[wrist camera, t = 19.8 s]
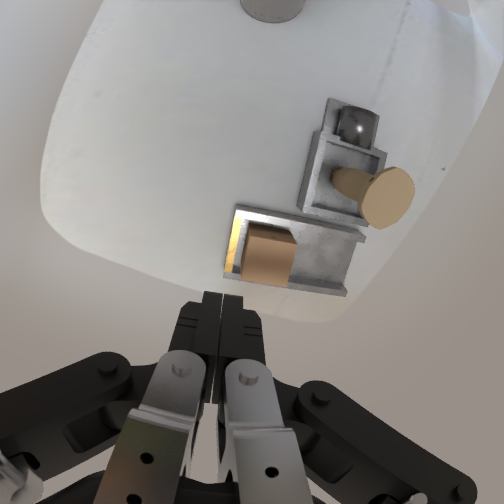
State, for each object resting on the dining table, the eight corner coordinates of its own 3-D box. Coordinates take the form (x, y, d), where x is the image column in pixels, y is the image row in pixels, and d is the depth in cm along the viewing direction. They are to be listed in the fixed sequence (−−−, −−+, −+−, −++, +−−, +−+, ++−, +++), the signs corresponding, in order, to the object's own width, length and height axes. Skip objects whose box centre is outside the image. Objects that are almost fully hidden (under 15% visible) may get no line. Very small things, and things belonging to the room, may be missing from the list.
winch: (321, 96, 36) (333, 90, 30) (382, 118, 37) (400, 116, 32) (296, 205, 41) (304, 214, 36) (357, 219, 42) (372, 230, 37)
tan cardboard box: (248, 222, 40) (250, 235, 35) (290, 229, 41) (298, 243, 36) (240, 262, 43) (240, 280, 37) (280, 269, 43) (285, 288, 38)
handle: (364, 175, 39) (422, 193, 25) (335, 205, 40) (381, 238, 26) (343, 151, 38) (396, 157, 24) (313, 182, 39) (352, 204, 25)
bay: (236, 204, 41) (236, 209, 38) (357, 229, 43) (366, 236, 40) (224, 267, 44) (223, 277, 41) (338, 286, 46) (345, 296, 43)
